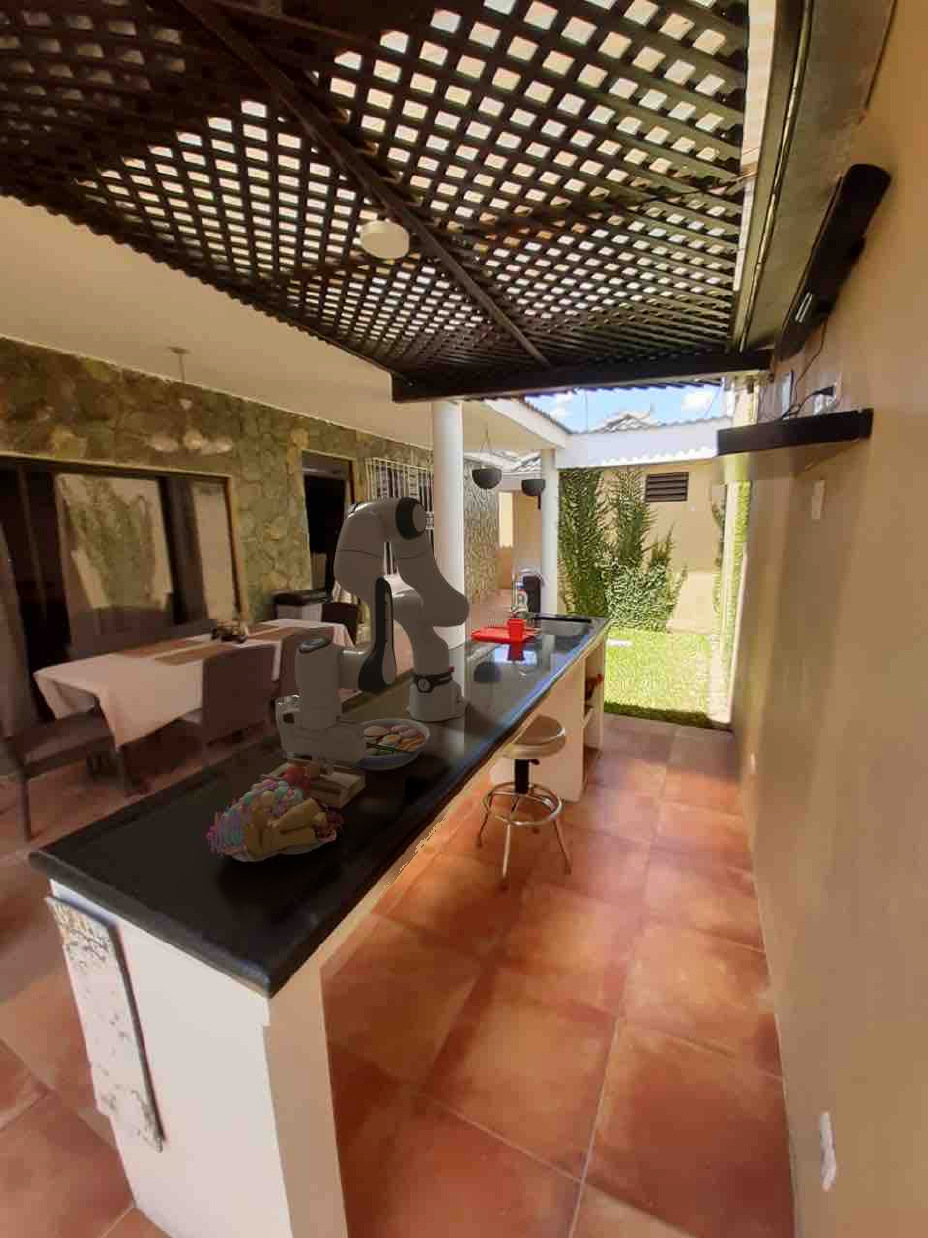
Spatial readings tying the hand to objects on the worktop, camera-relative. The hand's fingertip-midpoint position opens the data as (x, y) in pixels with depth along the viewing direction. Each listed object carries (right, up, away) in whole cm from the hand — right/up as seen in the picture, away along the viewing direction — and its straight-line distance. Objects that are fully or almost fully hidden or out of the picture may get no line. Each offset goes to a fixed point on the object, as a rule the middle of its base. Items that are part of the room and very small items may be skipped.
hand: (325, 773), depth 107 cm
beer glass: (-14, -1, +20) cm, 25 cm away
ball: (-3, 0, +1) cm, 3 cm away
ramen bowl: (+11, -2, +13) cm, 17 cm away
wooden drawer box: (-3, -4, +2) cm, 6 cm away
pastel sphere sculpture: (-5, -6, -16) cm, 18 cm away
